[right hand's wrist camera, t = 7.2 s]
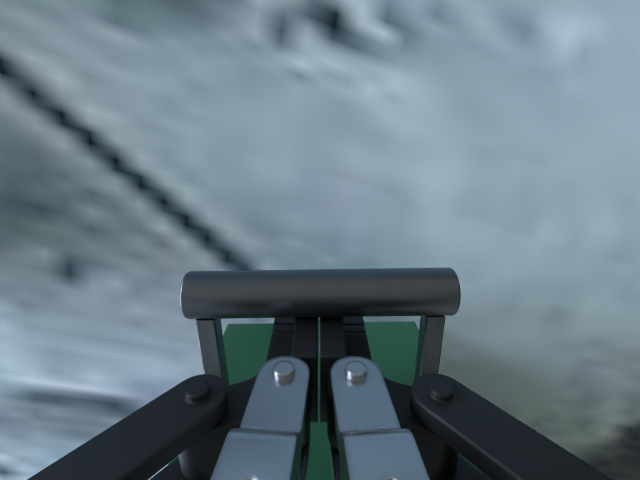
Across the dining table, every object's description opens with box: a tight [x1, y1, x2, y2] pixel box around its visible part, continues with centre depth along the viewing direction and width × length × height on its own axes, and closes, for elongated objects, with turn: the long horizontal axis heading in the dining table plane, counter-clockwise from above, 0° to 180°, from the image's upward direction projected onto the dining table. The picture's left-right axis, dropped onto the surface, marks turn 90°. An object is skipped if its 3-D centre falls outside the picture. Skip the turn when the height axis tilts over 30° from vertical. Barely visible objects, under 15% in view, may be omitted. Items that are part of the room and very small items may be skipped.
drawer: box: [168, 268, 483, 480], centre depth 16 cm, size 22×10×9 cm, turn 1°
